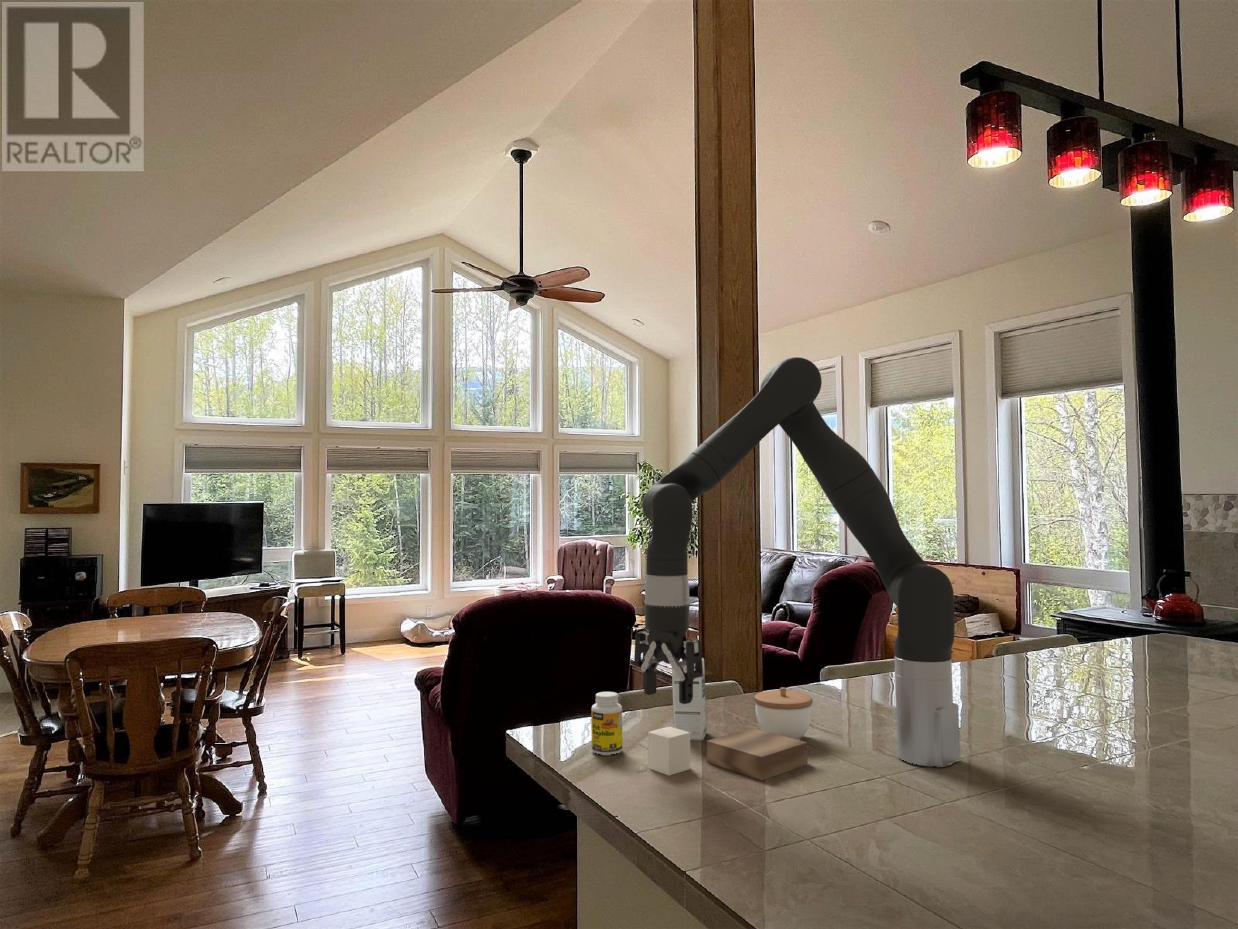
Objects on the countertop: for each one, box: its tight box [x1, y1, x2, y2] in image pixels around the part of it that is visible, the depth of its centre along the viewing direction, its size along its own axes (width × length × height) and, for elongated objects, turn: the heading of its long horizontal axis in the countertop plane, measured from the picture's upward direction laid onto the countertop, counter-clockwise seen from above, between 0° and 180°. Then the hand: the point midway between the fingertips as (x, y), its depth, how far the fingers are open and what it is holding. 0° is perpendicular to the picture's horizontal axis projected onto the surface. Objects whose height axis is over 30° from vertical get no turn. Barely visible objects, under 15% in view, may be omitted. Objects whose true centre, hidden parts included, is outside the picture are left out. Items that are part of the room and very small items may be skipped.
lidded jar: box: [754, 686, 813, 741], centre depth 148 cm, size 11×11×9 cm
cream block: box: [647, 726, 692, 776], centre depth 132 cm, size 5×5×6 cm
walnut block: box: [706, 727, 809, 781], centre depth 134 cm, size 12×12×4 cm
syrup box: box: [671, 657, 708, 741], centre depth 151 cm, size 6×6×14 cm
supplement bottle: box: [590, 691, 623, 756], centre depth 141 cm, size 6×6×10 cm
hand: (667, 698), depth 132 cm, fingers open, 8 cm apart
